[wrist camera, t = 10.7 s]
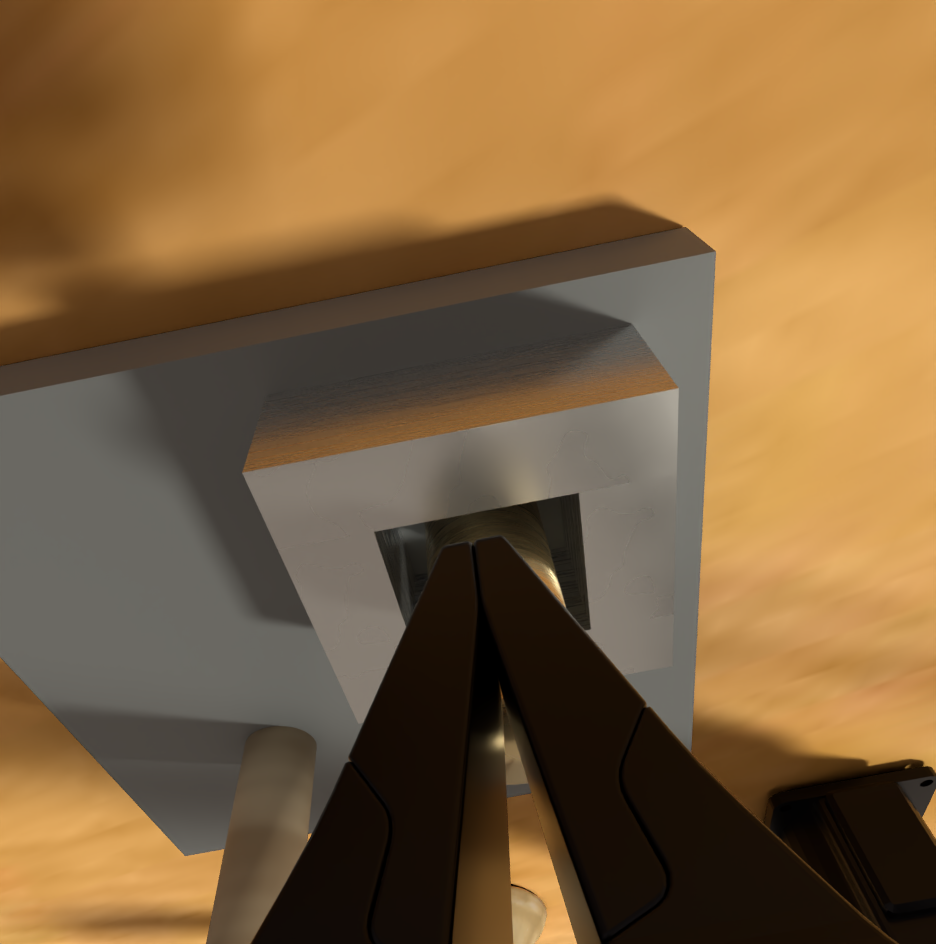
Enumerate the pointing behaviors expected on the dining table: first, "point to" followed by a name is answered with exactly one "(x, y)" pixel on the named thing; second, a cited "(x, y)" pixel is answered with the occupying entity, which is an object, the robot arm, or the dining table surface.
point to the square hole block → (477, 488)
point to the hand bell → (527, 916)
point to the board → (242, 526)
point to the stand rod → (263, 830)
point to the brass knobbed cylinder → (532, 545)
